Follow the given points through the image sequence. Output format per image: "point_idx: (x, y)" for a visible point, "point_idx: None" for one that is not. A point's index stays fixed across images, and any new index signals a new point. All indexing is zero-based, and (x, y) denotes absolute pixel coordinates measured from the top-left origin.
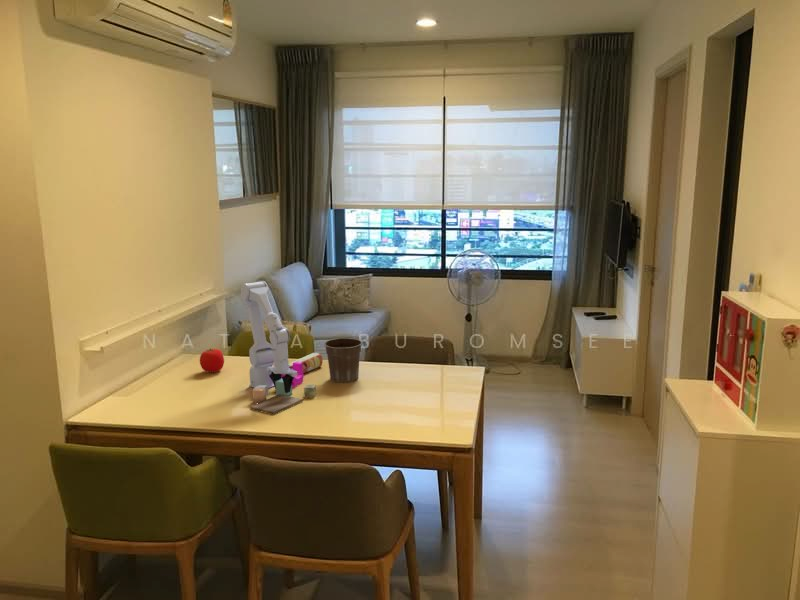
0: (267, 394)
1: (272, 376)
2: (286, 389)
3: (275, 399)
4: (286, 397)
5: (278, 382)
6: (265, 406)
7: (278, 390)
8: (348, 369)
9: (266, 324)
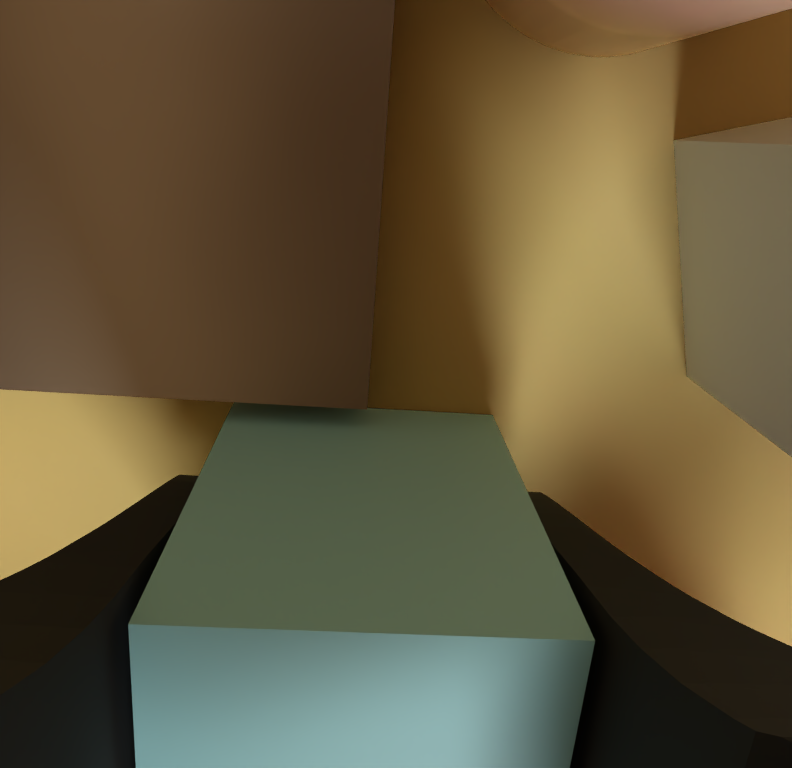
0: (696, 339)
1: (775, 729)
2: (126, 513)
3: (175, 14)
4: (28, 289)
5: (427, 618)
6: None
7: (423, 467)
8: None
9: None
